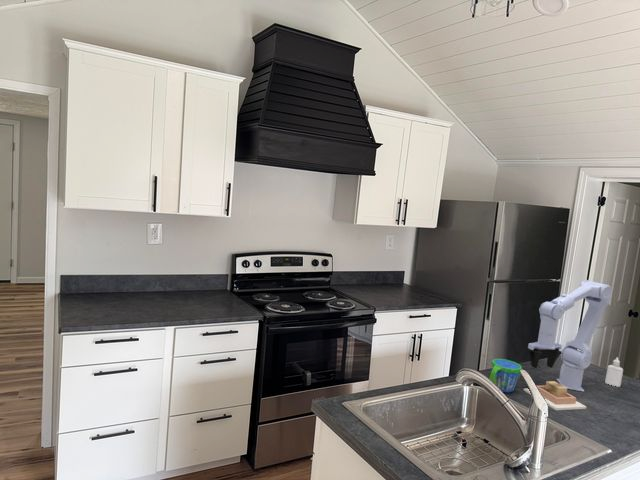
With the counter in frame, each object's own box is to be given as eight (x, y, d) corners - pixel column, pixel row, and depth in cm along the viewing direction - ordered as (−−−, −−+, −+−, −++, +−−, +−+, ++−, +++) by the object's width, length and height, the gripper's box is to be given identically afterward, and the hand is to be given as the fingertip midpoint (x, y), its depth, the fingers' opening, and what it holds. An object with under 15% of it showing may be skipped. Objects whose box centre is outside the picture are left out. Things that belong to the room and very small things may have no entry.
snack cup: (498, 397, 169) (503, 370, 168) (477, 384, 178) (481, 359, 177) (528, 393, 175) (532, 367, 174) (506, 381, 185) (510, 357, 184)
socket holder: (523, 390, 177) (524, 383, 177) (552, 389, 182) (553, 382, 181) (555, 410, 162) (557, 402, 162) (586, 408, 167) (587, 400, 166)
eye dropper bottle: (616, 388, 191) (621, 360, 190) (602, 382, 196) (607, 355, 195) (622, 387, 193) (627, 359, 192) (609, 381, 198) (613, 355, 197)
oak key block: (544, 394, 174) (546, 381, 173) (552, 393, 175) (554, 381, 175) (556, 401, 168) (558, 388, 168) (565, 400, 170) (567, 388, 169)
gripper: (540, 336, 171) (534, 371, 173) (570, 336, 176) (564, 370, 177) (526, 330, 178) (521, 364, 179) (556, 331, 182) (550, 363, 184)
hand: (541, 366), depth 179 cm, fingers open, 7 cm apart
